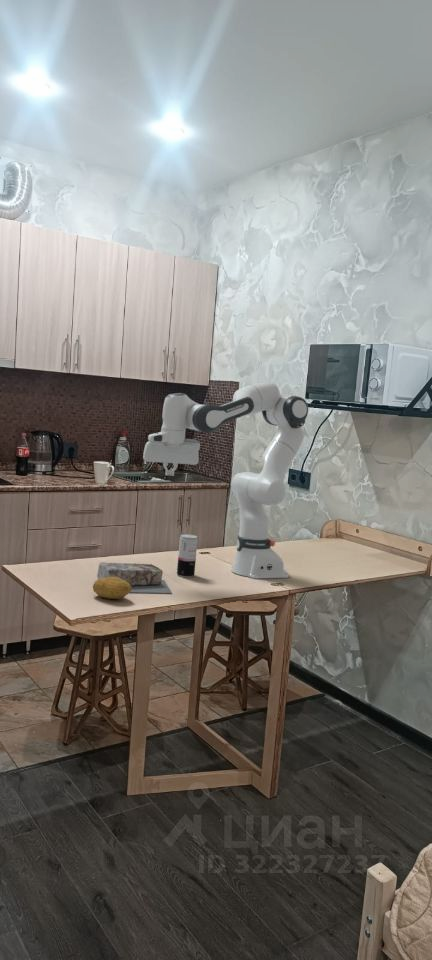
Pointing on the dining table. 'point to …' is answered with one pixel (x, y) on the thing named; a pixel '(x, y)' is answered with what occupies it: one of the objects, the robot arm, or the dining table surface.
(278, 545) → the dining table surface
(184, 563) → the beverage can
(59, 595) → the dining table surface
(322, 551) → the dining table surface
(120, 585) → the potato
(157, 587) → the mat
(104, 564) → the stone block
